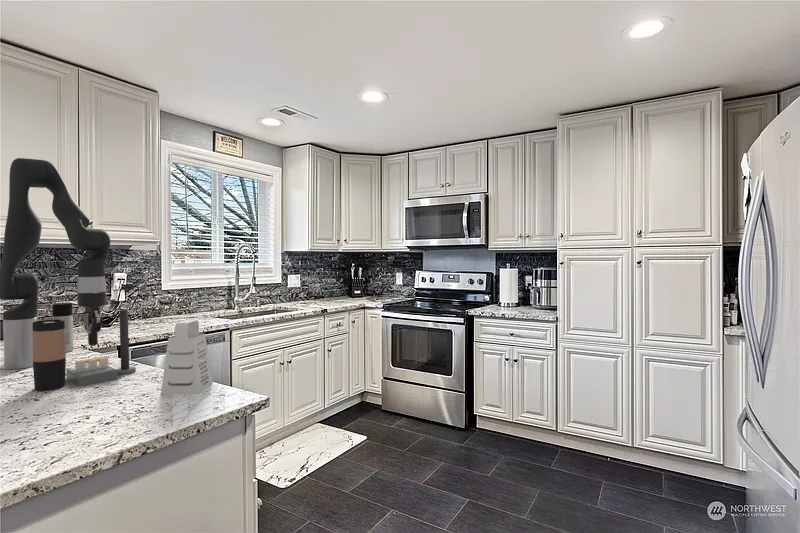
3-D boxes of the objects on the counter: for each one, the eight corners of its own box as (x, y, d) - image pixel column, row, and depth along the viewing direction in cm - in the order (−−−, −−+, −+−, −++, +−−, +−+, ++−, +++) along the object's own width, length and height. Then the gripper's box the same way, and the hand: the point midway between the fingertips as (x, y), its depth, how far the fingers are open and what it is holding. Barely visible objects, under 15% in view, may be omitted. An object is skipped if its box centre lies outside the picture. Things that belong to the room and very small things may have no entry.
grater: (212, 382, 133) (212, 318, 133) (198, 393, 123) (197, 324, 122) (178, 383, 133) (177, 319, 132) (160, 394, 123) (159, 324, 122)
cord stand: (111, 372, 145) (110, 310, 144) (131, 369, 149) (130, 308, 149) (118, 376, 141) (116, 311, 140) (138, 372, 146) (136, 309, 145)
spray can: (77, 349, 180) (76, 302, 180) (63, 353, 174) (62, 304, 173) (63, 349, 181) (62, 302, 180) (48, 353, 174) (47, 304, 174)
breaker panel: (66, 378, 138) (66, 368, 138) (102, 371, 146) (102, 362, 146) (79, 386, 130) (79, 376, 130) (117, 379, 137) (117, 369, 137)
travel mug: (27, 392, 124) (26, 323, 123) (41, 385, 131) (40, 319, 131) (58, 390, 126) (57, 322, 125) (71, 383, 133) (69, 318, 133)
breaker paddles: (75, 370, 135) (75, 360, 134) (106, 365, 141) (106, 356, 141) (76, 372, 134) (77, 362, 133) (107, 366, 141) (108, 357, 140)
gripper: (71, 290, 139) (72, 343, 139) (84, 292, 130) (85, 349, 131) (98, 289, 145) (99, 340, 145) (112, 291, 136) (113, 345, 137)
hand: (93, 344), depth 138 cm, fingers closed
